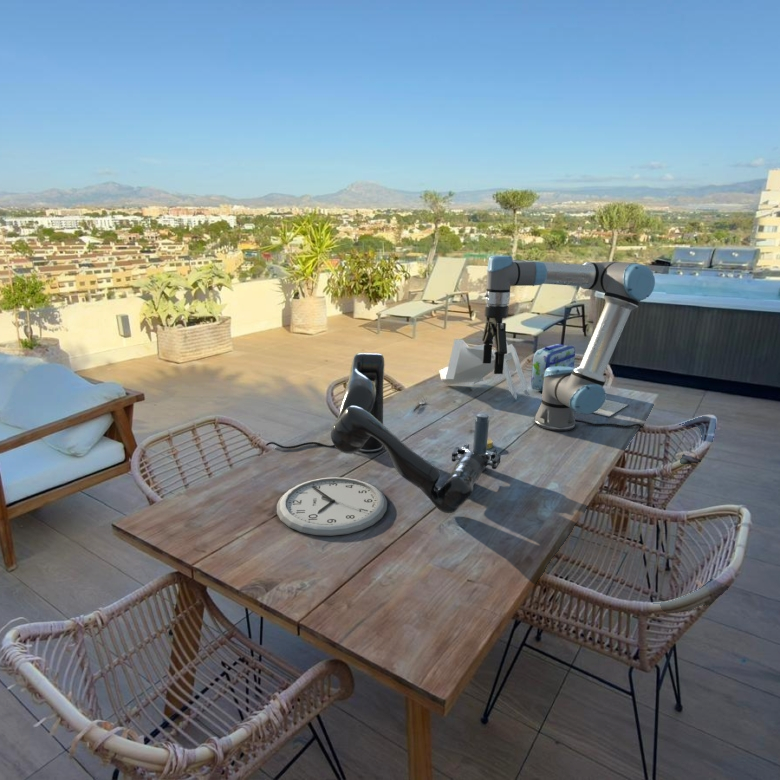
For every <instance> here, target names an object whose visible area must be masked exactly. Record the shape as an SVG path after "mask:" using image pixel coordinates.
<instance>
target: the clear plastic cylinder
mask: <svg viewBox="0 0 780 780" xmlns="http://www.w3.org/2000/svg"><path fill="white" fill-rule="evenodd" d="M489 425H490V420H489V415H488V414H486V413H477V414H476V418H475V419H474V432H473V447H472V452H475V453H478V454H479V453H480V454H482V453H486V452H487V453H488V449H487V441H488V439H489V427H490V426H489ZM485 457H486V456H485ZM485 470H486V467H484V470H483V471H485Z"/></svg>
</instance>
